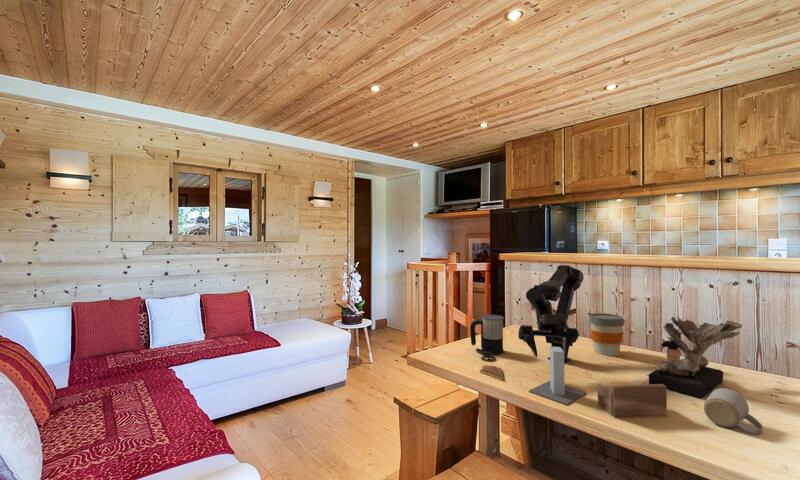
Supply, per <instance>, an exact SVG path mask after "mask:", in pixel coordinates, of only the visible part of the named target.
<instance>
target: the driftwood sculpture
mask: <svg viewBox="0 0 800 480" xmlns="http://www.w3.org/2000/svg"><path fill="white" fill-rule="evenodd" d="M670 320H671V322H666V323H665V324H664V325H663V326H662V328H663V329H664V330H665V332H666V334H669V335H670V336H671V338H672V339H673V340H674V341H675V342H676V343H677V344H678V345H679V346H680V348H682V350H683V352H684V353H683V352H682V353H683V356H684V358H682V359H680V360H673V361H667V360H660V361H659V362H658V368H657V369H655V370H653V371H652V372H650V373H648V384H663V385H665V386H667V391H670V392H674V393H677V394H681V395H684V396H687V397H690V398H694V399H698V400H703V399H704V398H706V396H708V395H709V394H711V393H712V392H713V391H714V390H716V388H718V387H719V386H720V385H721V384H723V382H724V371H723V370H721V369H719V368H718V369H717V368H712V367H708V365H709V361H708V359H707V358H706V357H704V353H705V352H706V351H707V350H708V349H709V348H710V347H712V345H715V344H718V343H719V342H722V341H723V340H727V339H732V338H735V337H736V336H739V335H740V334H741V332H740V331H736V330H738V329H741V328H743V324H742V323H738V322H736V321H731V320H726V321H725V323H723V322H721V323H719V324H718V325H716V324H711V323H709V322H705V321H704V322H703V323H702V324H699V326H697V325H696V324H695V322H694V321H691V320H688V319H685V320H681V319H680V318H679V317H678V316H677V317H676V318H675V317H674V316H672V317H670ZM674 325H675V326H676V327H674ZM678 328H679V330H680V331H679V330H678ZM735 331H736V332H735ZM682 335H683V336H684V337H685V338H686V339H687V340H688V341H689V342H690V344H691V346H692V348H691V349H690V348H689V346H688V344H686V342H685V341H683V340H682V337H681V336H682ZM680 348H679V349H680ZM682 350H681V351H682ZM719 384H720V385H719ZM718 385H719V386H718ZM713 389H714V390H713ZM707 394H708V395H707Z"/></svg>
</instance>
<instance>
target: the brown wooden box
mask: <svg viewBox="0 0 800 480" xmlns="http://www.w3.org/2000/svg"><path fill="white" fill-rule="evenodd" d="M667 391H668V390H667V386H665V385H663V384H649V382H646V381H644V382H642V384H611V385H610V387H607V386H605V385H604V384H603V383H601V382H598V383H597V405H598V406H599V407H601V409H603V411H606V412H607V413H608V414H609V415H611V416H612V417H613V418H614V419H615V418H616V419H618V418H619V419H621V418H655V417H656V418H660V417H661V418H662V417H663V418H664V417H668V416H667V415H668V411H667V409H668V408H667V407H668V406H667V405H668V404H667V401H668V397H667V395H668V393H667Z"/></svg>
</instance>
